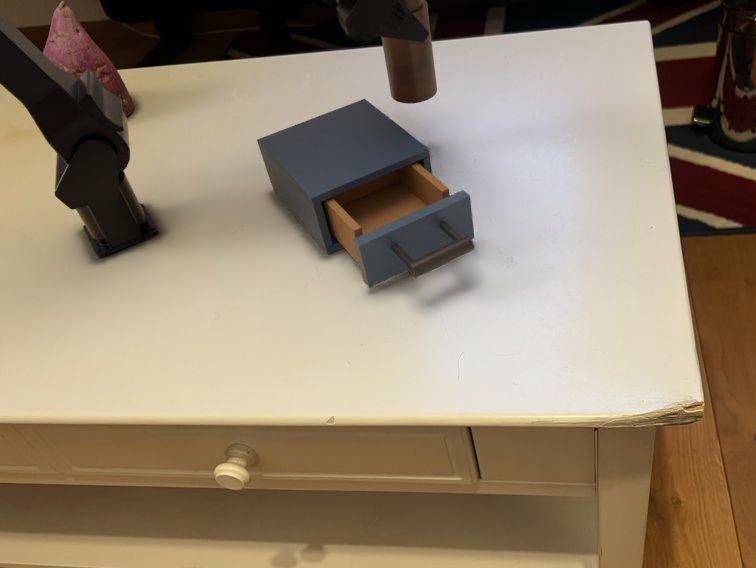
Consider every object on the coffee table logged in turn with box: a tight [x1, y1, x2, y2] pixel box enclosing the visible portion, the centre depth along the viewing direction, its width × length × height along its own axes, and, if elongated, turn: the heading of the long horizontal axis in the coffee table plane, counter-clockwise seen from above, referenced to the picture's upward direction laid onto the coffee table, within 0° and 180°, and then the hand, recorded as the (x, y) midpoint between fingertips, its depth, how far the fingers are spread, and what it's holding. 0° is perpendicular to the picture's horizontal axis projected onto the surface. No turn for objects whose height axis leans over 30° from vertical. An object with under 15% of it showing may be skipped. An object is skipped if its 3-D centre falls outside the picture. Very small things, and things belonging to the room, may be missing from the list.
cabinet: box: [256, 98, 434, 255], centre depth 75 cm, size 14×13×7 cm
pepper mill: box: [380, 0, 438, 105], centre depth 73 cm, size 5×5×14 cm
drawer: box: [321, 162, 475, 288], centre depth 68 cm, size 17×11×5 cm
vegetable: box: [42, 0, 135, 118], centre depth 93 cm, size 10×10×15 cm
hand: (418, 27), depth 74 cm, fingers closed on pepper mill, 5 cm apart
